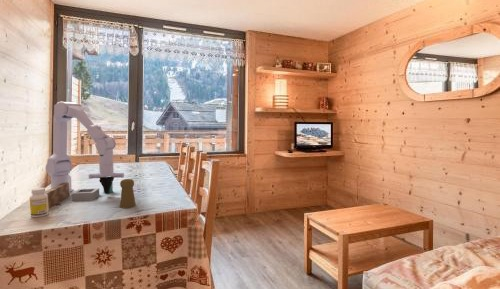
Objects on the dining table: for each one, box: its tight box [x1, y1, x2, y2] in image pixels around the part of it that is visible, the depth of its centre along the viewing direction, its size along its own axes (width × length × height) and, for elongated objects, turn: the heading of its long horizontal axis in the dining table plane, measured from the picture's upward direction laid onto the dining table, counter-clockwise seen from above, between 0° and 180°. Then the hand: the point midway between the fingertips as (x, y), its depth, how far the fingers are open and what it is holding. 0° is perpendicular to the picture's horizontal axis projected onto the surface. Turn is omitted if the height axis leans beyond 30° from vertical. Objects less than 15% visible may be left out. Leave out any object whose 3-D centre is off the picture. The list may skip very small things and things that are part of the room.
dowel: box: [103, 181, 114, 194], centre depth 142 cm, size 4×4×7 cm
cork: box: [119, 178, 137, 209], centre depth 118 cm, size 6×6×11 cm
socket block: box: [71, 187, 100, 201], centre depth 131 cm, size 9×9×4 cm
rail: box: [45, 183, 70, 209], centre depth 124 cm, size 22×2×6 cm, turn 12°
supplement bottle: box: [29, 187, 50, 218], centre depth 106 cm, size 5×5×10 cm
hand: (107, 193), depth 133 cm, fingers closed
